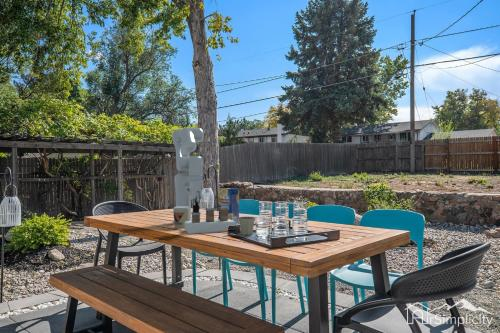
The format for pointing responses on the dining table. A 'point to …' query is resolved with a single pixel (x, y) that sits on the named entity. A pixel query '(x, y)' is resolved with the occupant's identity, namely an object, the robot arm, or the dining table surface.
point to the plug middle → (210, 214)
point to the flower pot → (246, 225)
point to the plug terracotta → (223, 213)
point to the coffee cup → (180, 216)
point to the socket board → (208, 226)
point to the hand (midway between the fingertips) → (195, 212)
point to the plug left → (195, 217)
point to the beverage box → (230, 202)
